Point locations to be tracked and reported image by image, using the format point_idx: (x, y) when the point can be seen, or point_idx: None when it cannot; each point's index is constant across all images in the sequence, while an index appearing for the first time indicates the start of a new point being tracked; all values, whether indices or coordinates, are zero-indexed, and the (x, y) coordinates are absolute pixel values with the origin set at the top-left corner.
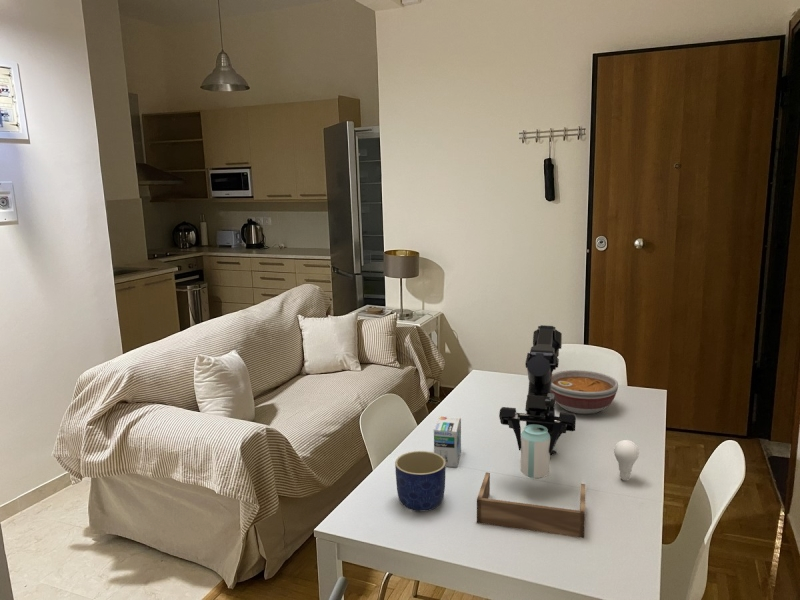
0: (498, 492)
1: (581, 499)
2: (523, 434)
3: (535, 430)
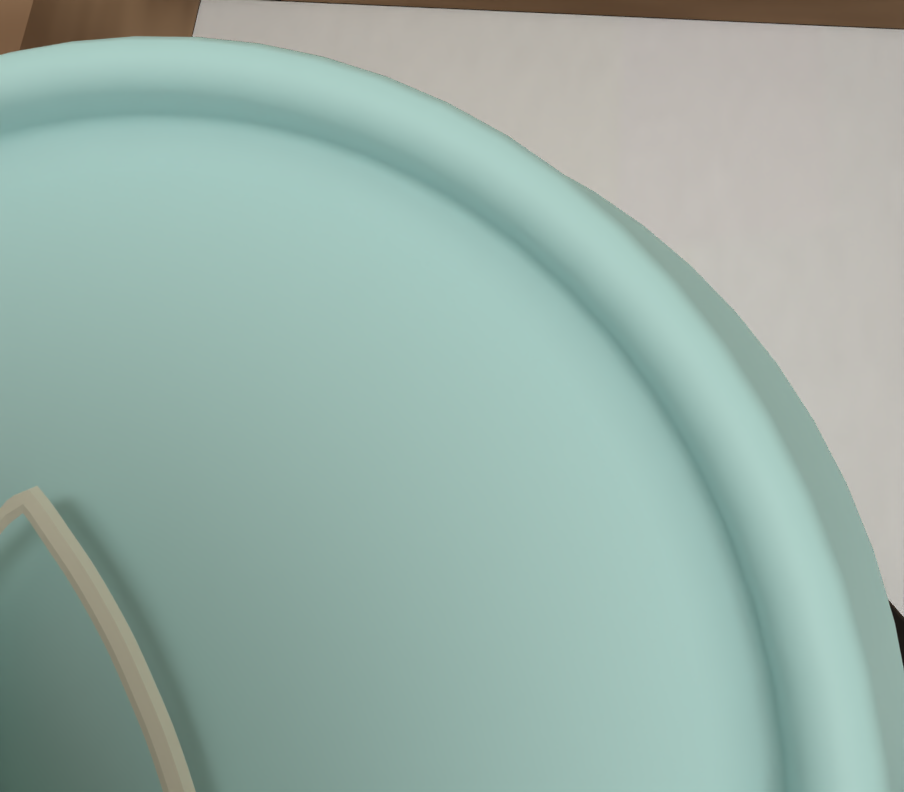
0: (897, 601)
1: (20, 17)
2: (822, 506)
3: (61, 524)
